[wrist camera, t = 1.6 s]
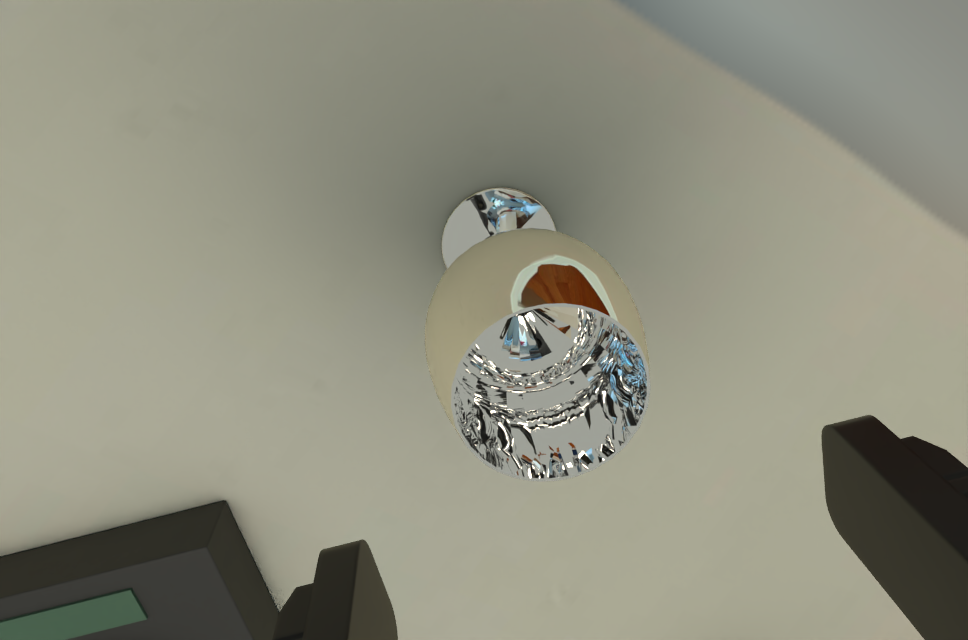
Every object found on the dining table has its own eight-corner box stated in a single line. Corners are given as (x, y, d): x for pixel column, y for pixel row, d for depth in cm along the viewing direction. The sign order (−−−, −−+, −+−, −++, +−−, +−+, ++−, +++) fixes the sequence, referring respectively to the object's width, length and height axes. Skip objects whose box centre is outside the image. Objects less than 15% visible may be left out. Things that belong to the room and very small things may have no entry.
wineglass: (604, 242, 28) (724, 390, 17) (498, 342, 29) (545, 539, 18) (500, 136, 26) (558, 224, 15) (392, 247, 27) (372, 403, 16)
